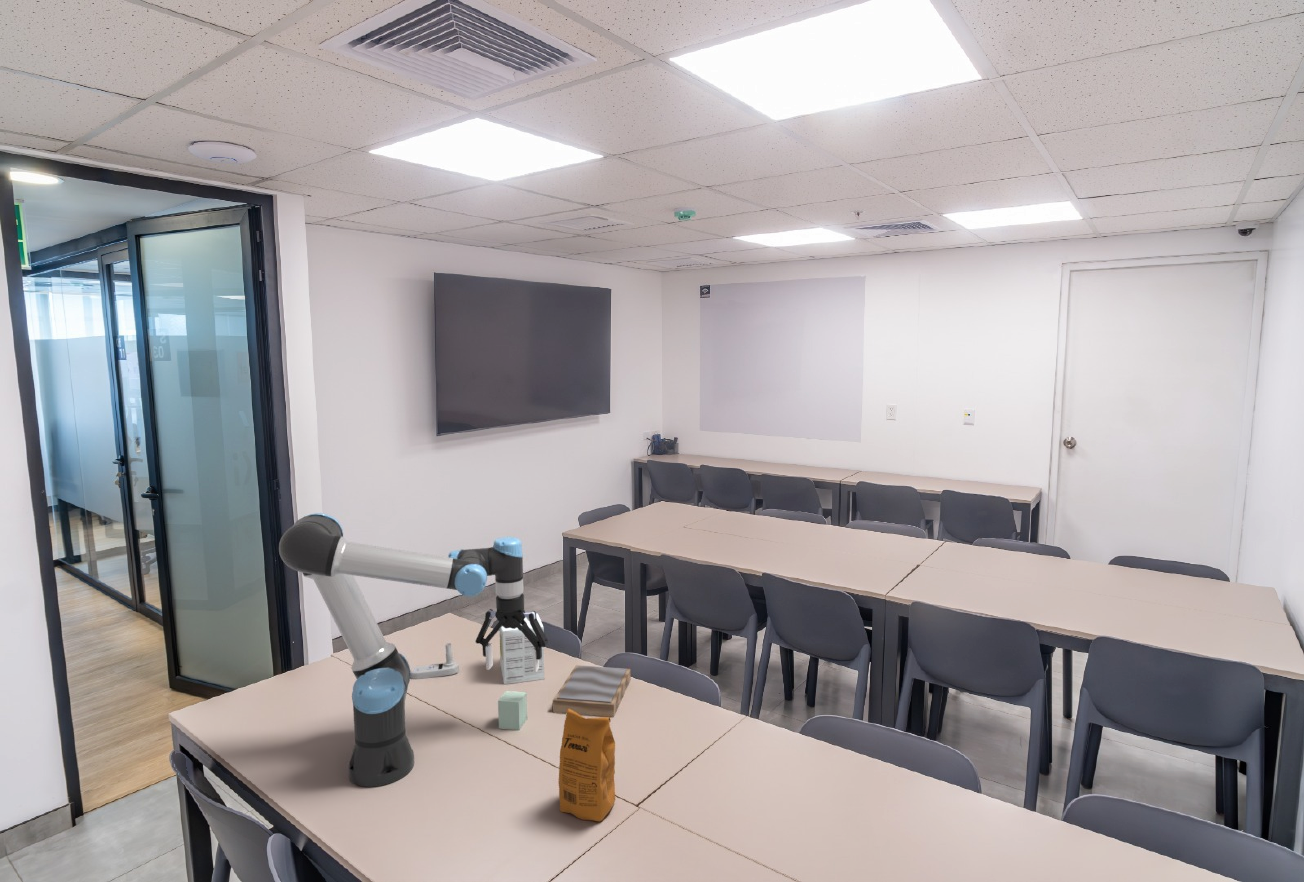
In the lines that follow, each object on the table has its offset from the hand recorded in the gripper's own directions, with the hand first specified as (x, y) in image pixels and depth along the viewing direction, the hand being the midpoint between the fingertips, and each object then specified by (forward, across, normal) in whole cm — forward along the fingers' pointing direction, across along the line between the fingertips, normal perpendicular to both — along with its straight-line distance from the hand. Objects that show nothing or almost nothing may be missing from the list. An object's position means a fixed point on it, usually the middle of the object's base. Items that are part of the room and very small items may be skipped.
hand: (512, 668), depth 187 cm
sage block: (+16, 0, 0) cm, 16 cm away
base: (+16, -18, -20) cm, 31 cm away
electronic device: (+16, +38, -26) cm, 48 cm away
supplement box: (+16, +10, -31) cm, 36 cm away
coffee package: (+16, -30, +32) cm, 47 cm away
